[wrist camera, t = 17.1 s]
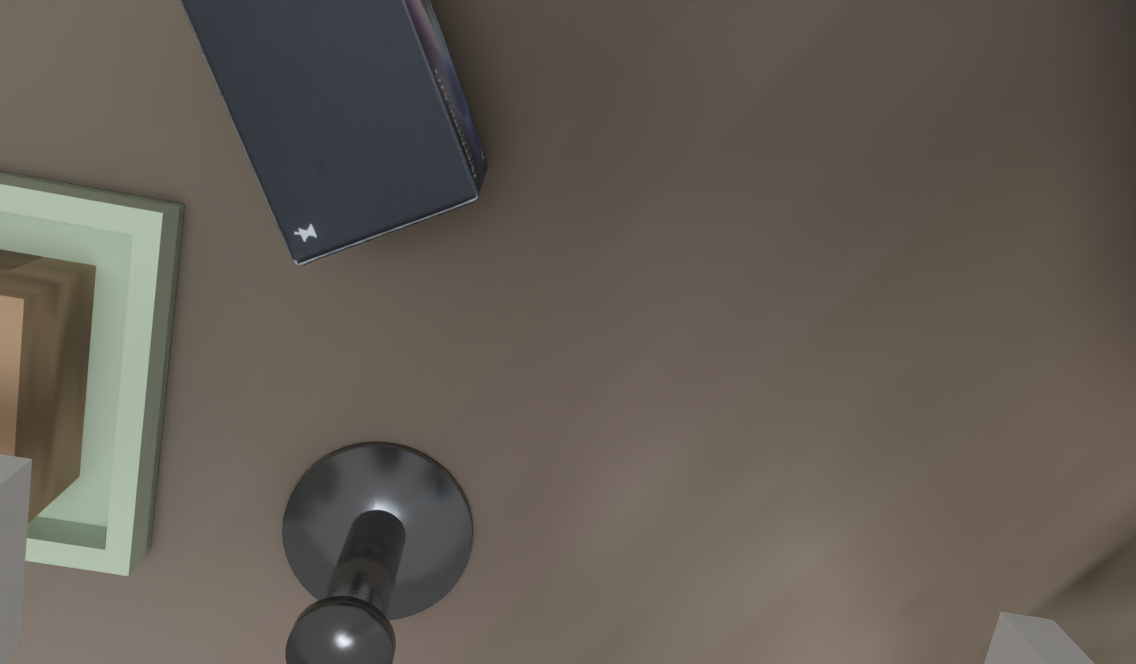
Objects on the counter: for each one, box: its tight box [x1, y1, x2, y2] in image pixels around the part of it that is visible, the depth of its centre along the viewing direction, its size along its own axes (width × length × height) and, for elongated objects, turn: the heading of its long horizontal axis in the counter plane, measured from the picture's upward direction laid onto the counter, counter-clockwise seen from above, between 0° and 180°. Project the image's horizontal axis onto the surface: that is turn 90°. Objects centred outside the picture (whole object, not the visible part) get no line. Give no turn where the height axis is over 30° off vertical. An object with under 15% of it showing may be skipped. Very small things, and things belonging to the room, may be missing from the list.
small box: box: [179, 0, 487, 266], centre depth 35 cm, size 11×6×10 cm, turn 20°
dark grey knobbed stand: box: [282, 442, 473, 664], centre depth 40 cm, size 8×8×10 cm
